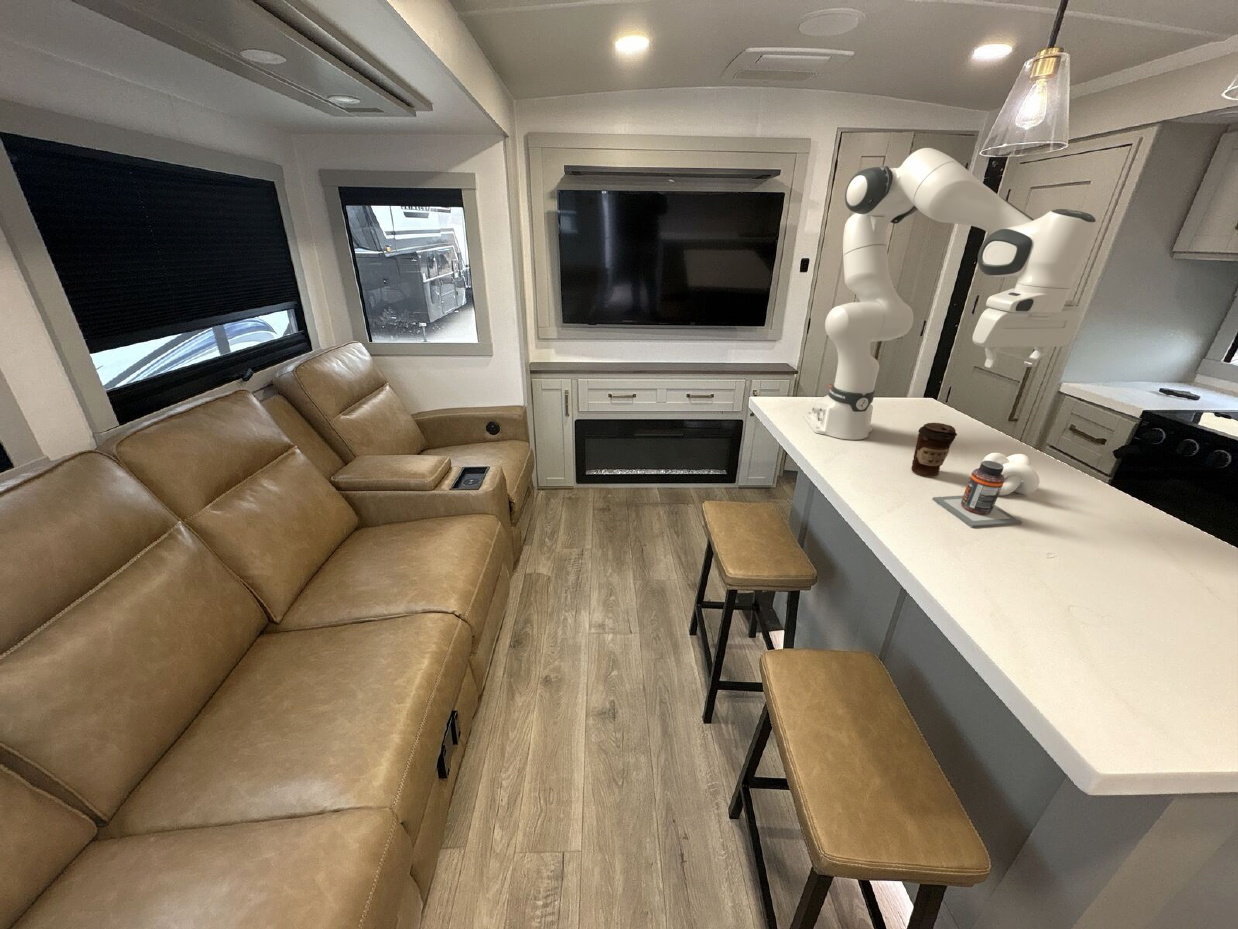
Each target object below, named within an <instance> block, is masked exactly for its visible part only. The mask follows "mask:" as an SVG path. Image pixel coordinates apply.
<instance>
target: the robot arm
mask: <svg viewBox="0 0 1238 929" xmlns="http://www.w3.org/2000/svg"><path fill="white" fill-rule="evenodd" d="M844 202H845V206H846V207H847V209H848V210H849V211H850V212H852V213H853V214H852V215H851V216H850V217H848V219H847V220H846V222H845V225H844V229H843V236H842V237H843V238H842V259H843V261H842V263H843V274H844V275H843V276H844V284H845V286H846V287H847V289H849V290H850V291H851V292H853V293H854V294H855V295H856V297H857V298H858V299H859V301H858V302H855V301H854V302H847V303H844V304H840V305H837V306H835V307H833V308H832V309H831V310H830V311H829V312H828V313H827V315H826V317H825V321H824V330H825V334H826V335H827V337H828V338H829V339H830V340H831V341H832V342H833V344H834V345H835V348H836V351H837V368H836V373H835V377H834V378H835V379H834V383H833V384H829V387H828V388H829V392H828V394H827V395H825V396H823V397H822V398H820V399H817V400H815V401H814V402H813V405H812V409H811V411H810V412H805V413H803V414H802V418H803V419H804V420H805V422H806V423H807V424H808V425H809V427H810V428H811V429H812V431H814V433H816V434H821V435H826V436H830V437H833V438H836V439H841V440H863V439H867V437H869V433H871V432H872V430H873V427H872V426H871V423H872V415H873V409H874V407H873V405H872V403H873V401H874V398H875V393H876V391H875V386H876V382H877V378H878V374H879V370H880V364H879V361H878V359H876V358H875V357H873V356H872V355H871V343H873V342H888V341H892V340H895V339H898V338H901V337H904V336H906V334H908V333H909V332H910V330H911V329H912V327H913V324H914V320H915V319H914V312H913V309H912V308H911V306H909V304H907V303H905V302H904V301H903V299H902V298H901V297H900V296H899V294H898V293H897V290H896V289H895V286H894V284H893V282H892V279H891V276H890V270H889V268H890V267H889V259H888V246H887V245H888V244H887V229H888V226H889V225H890V223H891V224H898V223H900V222H901V221H903V220H904V219H905V218H906V217H907V218H908V217H909V216H910V215H912V214H913V213H915V212H916V211H919V212H921V213H922V214H923V215H924V216H926V217H928V218H930V219H932V220H934V221H937V222H939V223H947V224H957V225H964V226H971V227H975V228H979V229H980V230H981V229H982V230H983V231H985V232H987V233H988V234H990V235H989V236H987V237H986V239H985V240H983V243H982V244H981V246H980V248H979V250H978V253H977V265H978V268H979V269H980V271H981V272H982V273H983V274H984V275H987V276H990V277H993V278H1017V281H1016V284H1015V286H1014V287H1013V288H1008V289H1007V290H1003V291H1002V292H999V293H995V294H993V295H990V296H989V297H988V298H987V300H986V303H985V305H986V307H987V308H986V309H985V310H984V311H983V312H982V314H980V317H979V319H978V321H977V323H976V326H975V329H974V332H973V334H972V343H973V344H974V345H976V346H979V347H982V348H985V349H984V352H985V356H986V359H985V362H984V367H986V368H989V369H993V368H997V367H998V364H999V363H1000V359H998V358H997V353H999V352H1000V349H1001V348H1033V350H1034V351H1033V352H1032V353H1031V354H1030V356H1027V357H1026V356H1025V359H1024V362H1023V366H1024V367H1027V368H1035V367H1037V365H1038V362H1039V361H1040V360H1041V359H1042V358H1043V357H1044V356H1045V355H1046V354H1047V353H1048V352H1049V350H1050V348H1051V347H1053V348H1054V347H1056V348H1057V347H1058V348H1059V347H1061V348H1062V347H1065V346H1066V345H1068V344H1069V342H1070V341H1071V339H1072V336H1073V334H1074V331H1075V328H1076V326H1077V322H1078V317H1079V316H1078V314H1079V311H1080V305H1079V303H1078V302H1077V301H1076V300H1073V299H1069V300H1068V298H1069V296H1070V293H1071V291H1072V289H1073V286H1074V283H1075V282H1074V280H1075V276H1076V274H1077V272H1078V271H1079V269H1080V268H1081V267H1082V265H1083V264H1084V262H1085V259H1086V258H1087V255H1088V253H1089V251H1090V248H1091V245H1092V243H1093V241H1094V240H1093V239H1094V237H1095V234H1096V233H1095V232H1096V230H1097V229H1096V228H1097V220H1096V218H1095V216H1093V215H1092V214H1090V213H1088V212H1084V211H1080V210H1072V209H1065V208H1063V209H1062V208H1056V209H1052V210H1050V211H1048V212H1047V213H1045V214H1043V215H1042V216H1040V217H1039V218H1036V219H1035V218H1033V217H1031V216H1029V215H1028V214H1027V213H1026V212H1024V211H1022V210H1021V209H1019V208H1018V207H1016V206H1015V205H1014V204H1012V203H1010V201H1008V200H1006V199H1004V198H1003V197H1001V196H1000V195H999V194H997V193H996V192H995V191H993V190H992V189H991V188H990V187H988V186H987V185H985V184H984V183H983V182H982V181H981V180H979V179H978V178H977V177H976V176H975V175H974V174H973V173H972V172H970V171H969V170H968V169H967V168H966V167H964V166H963V165H962V164H961V163H960V162H958V161H957V160H956V159H955V158H953V157H951V156H950V155H948V154H946V153H944V152H942V151H940V150H938V149H935V148H932V147H923V148H920V149H917V150H915V151H914V152H912V153H911V154H909V155H908V157H907V158H906V159H905V160H904V161H903V162H902V164H901V165H900V166H899V167H889V166H887V165H886V166H885V165H884V166H873V167H868V168H864V169H861V170H859V171H858V172H857V173H855V174H854V175H853V176H852V177H851V178H850V180H849V182H848V184H847V186H846V188H845V193H844Z"/></svg>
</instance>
